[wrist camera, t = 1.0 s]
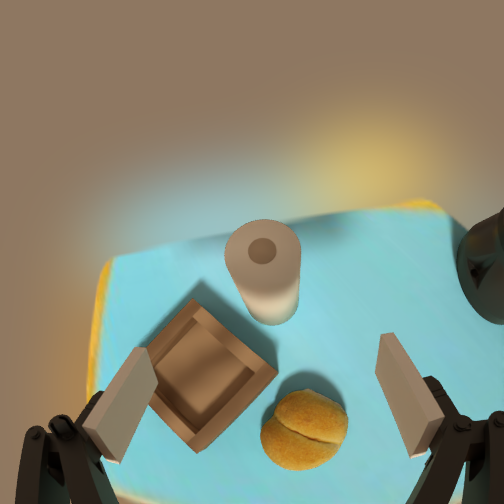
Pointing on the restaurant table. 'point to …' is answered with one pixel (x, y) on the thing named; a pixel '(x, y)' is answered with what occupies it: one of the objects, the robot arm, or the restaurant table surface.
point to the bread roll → (304, 430)
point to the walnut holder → (203, 376)
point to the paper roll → (266, 269)
